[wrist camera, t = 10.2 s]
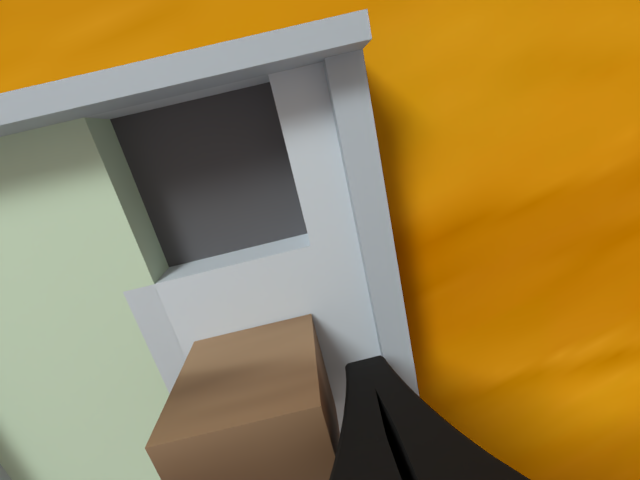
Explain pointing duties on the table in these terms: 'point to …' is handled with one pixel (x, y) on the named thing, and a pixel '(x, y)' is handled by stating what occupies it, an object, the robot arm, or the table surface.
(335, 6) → the table surface
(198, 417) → the walnut block
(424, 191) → the table surface
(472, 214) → the table surface
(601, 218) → the table surface
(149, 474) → the tray
